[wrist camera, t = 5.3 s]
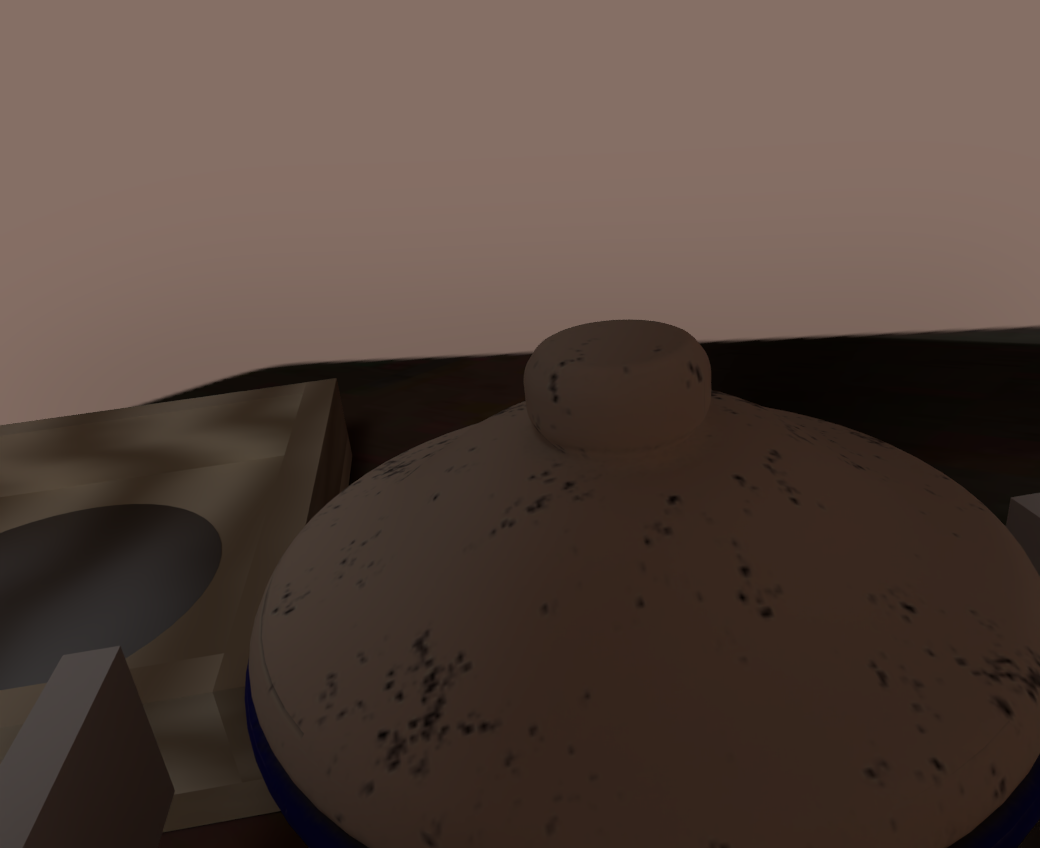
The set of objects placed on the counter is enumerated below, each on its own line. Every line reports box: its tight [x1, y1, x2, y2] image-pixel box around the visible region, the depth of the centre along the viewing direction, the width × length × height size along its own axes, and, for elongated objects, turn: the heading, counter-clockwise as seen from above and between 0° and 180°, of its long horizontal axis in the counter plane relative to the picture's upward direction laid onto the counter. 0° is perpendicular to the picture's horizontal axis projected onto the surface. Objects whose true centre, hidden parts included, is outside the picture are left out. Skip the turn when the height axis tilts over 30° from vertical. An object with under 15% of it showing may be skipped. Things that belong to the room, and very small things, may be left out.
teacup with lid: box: [244, 320, 1040, 848], centre depth 10 cm, size 12×9×12 cm
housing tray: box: [0, 378, 352, 832], centre depth 25 cm, size 18×18×4 cm
